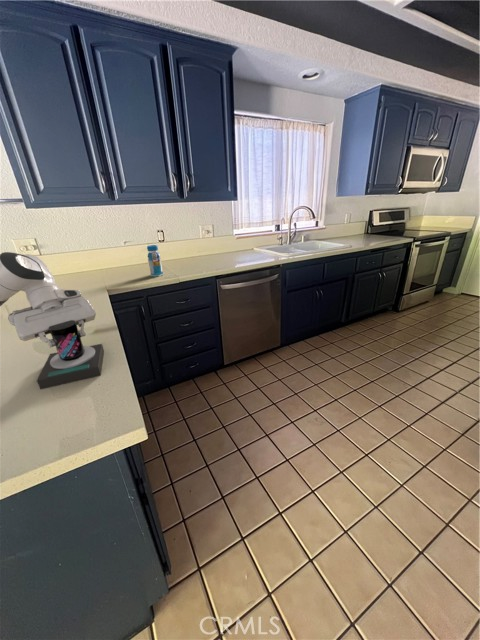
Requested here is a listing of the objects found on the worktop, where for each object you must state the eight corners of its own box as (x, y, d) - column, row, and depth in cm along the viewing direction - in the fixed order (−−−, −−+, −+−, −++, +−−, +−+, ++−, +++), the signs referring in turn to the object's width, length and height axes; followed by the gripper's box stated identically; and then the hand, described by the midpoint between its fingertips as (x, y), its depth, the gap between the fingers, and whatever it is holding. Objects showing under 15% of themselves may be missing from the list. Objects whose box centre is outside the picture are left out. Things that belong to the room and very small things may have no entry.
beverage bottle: (148, 276, 182) (142, 246, 174) (155, 273, 189) (150, 244, 181) (159, 276, 179) (153, 246, 171) (165, 273, 187) (161, 244, 178)
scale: (40, 389, 72) (35, 378, 70) (53, 361, 85) (49, 352, 83) (100, 375, 77) (97, 365, 75) (104, 351, 90) (101, 342, 88)
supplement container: (54, 361, 78) (42, 329, 74) (71, 349, 84) (61, 319, 80) (74, 362, 77) (63, 330, 73) (90, 350, 83) (80, 320, 79)
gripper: (3, 307, 71) (24, 350, 69) (84, 288, 84) (104, 324, 82) (7, 318, 76) (27, 359, 74) (83, 299, 89) (102, 333, 87)
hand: (68, 340), depth 78 cm, fingers closed on supplement container, 6 cm apart
